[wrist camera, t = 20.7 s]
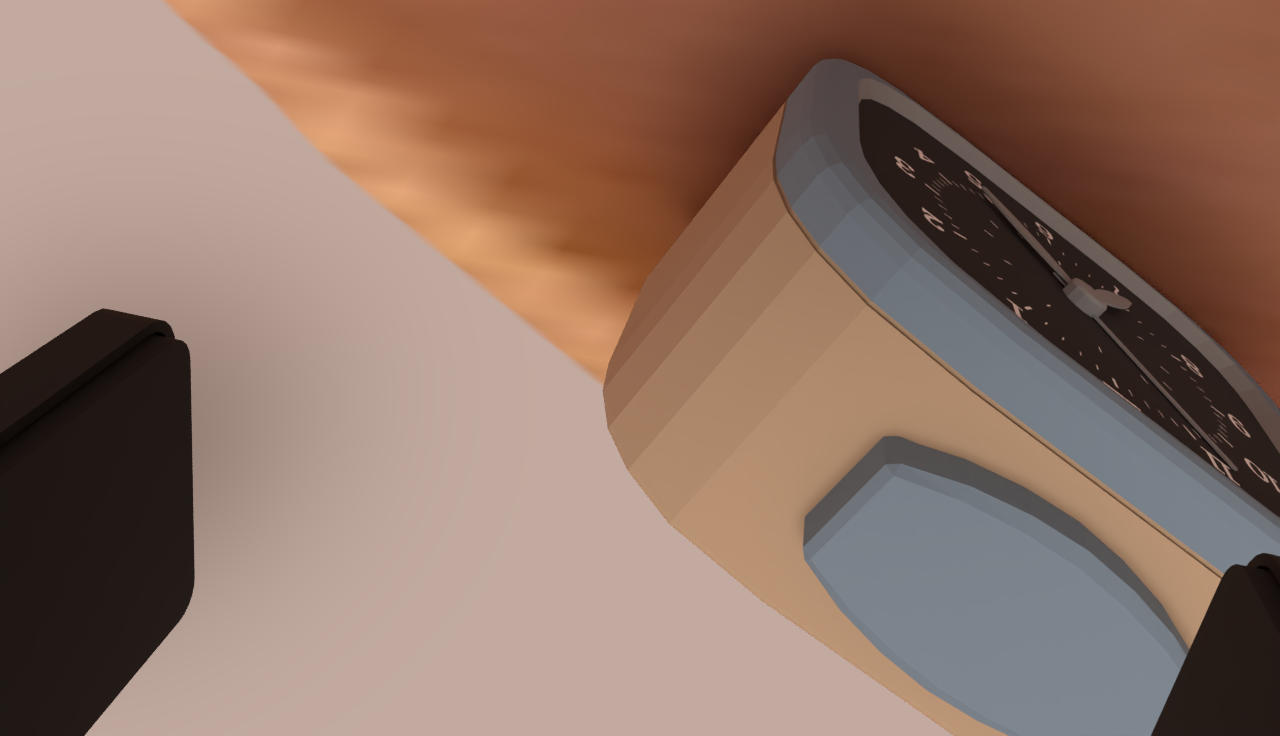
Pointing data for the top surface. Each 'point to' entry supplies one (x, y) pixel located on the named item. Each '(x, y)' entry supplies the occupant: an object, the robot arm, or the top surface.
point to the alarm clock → (942, 423)
